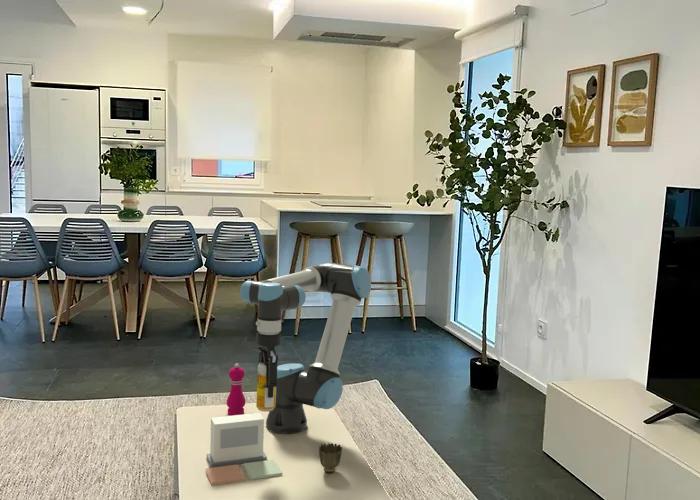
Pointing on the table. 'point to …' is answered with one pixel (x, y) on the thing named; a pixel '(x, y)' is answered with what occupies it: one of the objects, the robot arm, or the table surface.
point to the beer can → (263, 389)
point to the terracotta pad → (224, 474)
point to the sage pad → (262, 469)
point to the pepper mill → (236, 391)
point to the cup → (330, 456)
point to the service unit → (236, 440)
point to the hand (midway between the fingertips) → (265, 403)
